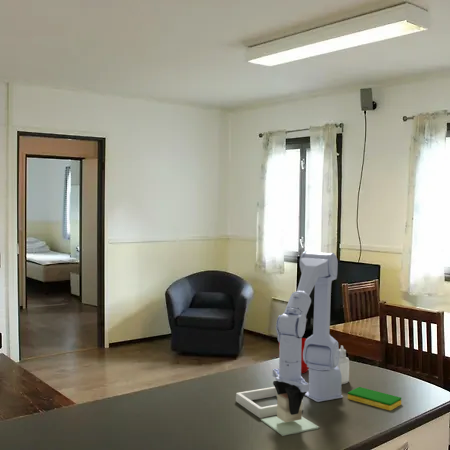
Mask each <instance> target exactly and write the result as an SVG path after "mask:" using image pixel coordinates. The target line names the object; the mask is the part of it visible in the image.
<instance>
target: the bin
mask: <svg viewBox="0 0 450 450" xmlns="http://www.w3.org/2000/svg"><path fill="white" fill-rule="evenodd" d="M277 395H278V393H277V391H276V388H275V386H271V387H265V388H264V387H263V388H259V389H252V390H245V391H240V392H236V393H235V402H236V403H238V404H239V405H240V406H242V407H243V408H244V409H246V410H247V411H249V412H250V413H252V414H253V415H254V416H256V417H258V418H259V419H263V418H268V417H274V416H277V403H276V404H271V405H266V406H260V405H259V404H257V403H255V402H254V401H255V400H261V399H265V398H272V397H277ZM253 400H254V401H253ZM303 410H304V400H302V411H303Z"/></svg>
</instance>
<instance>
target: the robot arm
mask: <svg viewBox="0 0 450 450" xmlns="http://www.w3.org/2000/svg"><path fill="white" fill-rule="evenodd" d="M338 262H339V261H338V258H337V255H336V253H334V252H316V251H307V250H306V251H305V250H304V251H303V252H302V253H301V254H300V257H299V268H300V272H301V275H300V278H299V283H298V286H297V290H296V291H294V292H292V293H291V294H290V297H289V299H288V302H287V304H286V305H285V309H284V312H283V313H282V314H279V315H278V317H277V319H276V322H275V323H276V324H275V331H276V334H277V341H278V343H279V342H280V351H279V350H278V353H279V356H278V357H279V360H278V364H279V366H278V367H279V368H273V369H272V377H273V378H275V380H274V381H273V382H272V385H273V387H275V388H276V391H277V393H278V395H279V394H284V393H287V395H288V399H289V409H290V414H291V415H294V414H298V413H299V409H300V405H301V402H302V401H304V400H303V399H304V398H305V396H306V397H307V398H309V399H311V400H313V401H315V402H317V403H319V402H325V401H330V400H337V399H342V398H343V397H344V396H343V395H342V384H341V383H342V376H341V372H340V369H339V368H338V367H337V365H338V363H339V349H340V348H339V345H340V344H339V342H338V340H336V338H334V337H333V336H332V335H331V334H330V331H331V330H330V328H331V327H330V325H331V299H332V298H331V296H332V294H331V293H332V283H333V281H334V280H337V279H338V266H339V265H338ZM313 290H314V301H313V322H312V323H313V324H312V325H313V326H312V327H313V330H312V334H311V335H310V336H308V337H307V338H306V341H305V346H304V350H303V360H304V362H305V364H307V367H309V369H308V382H307V381H306V380H305V378H303V376H302V373H301V345H302V338H303V336H304V334H305V331H306V328H307V327H306V325H307V314H308V312H309V309H310V307H311V304H312V298H311V297H310V296H311V293H312V291H313ZM316 344H317V345H316Z"/></svg>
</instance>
